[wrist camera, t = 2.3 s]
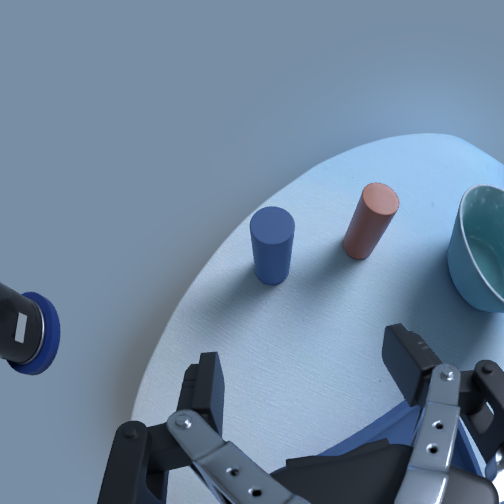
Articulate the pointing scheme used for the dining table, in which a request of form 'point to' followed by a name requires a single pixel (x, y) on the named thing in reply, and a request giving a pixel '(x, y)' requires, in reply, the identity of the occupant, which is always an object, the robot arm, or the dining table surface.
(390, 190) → the terracotta peg
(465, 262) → the bowl
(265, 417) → the dining table surface
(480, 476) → the robot arm
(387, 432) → the blue tray
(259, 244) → the blue peg
